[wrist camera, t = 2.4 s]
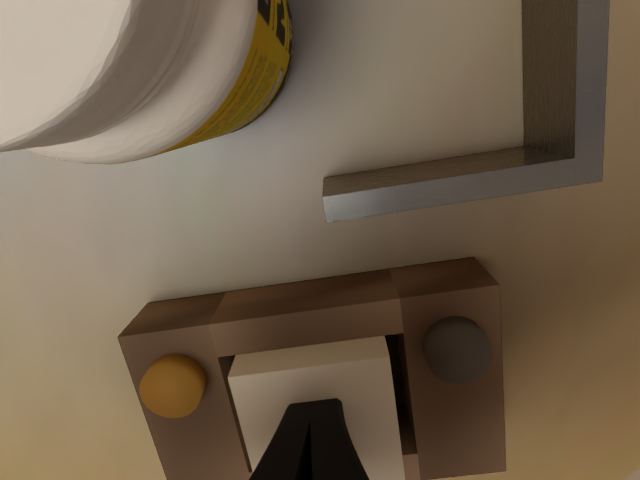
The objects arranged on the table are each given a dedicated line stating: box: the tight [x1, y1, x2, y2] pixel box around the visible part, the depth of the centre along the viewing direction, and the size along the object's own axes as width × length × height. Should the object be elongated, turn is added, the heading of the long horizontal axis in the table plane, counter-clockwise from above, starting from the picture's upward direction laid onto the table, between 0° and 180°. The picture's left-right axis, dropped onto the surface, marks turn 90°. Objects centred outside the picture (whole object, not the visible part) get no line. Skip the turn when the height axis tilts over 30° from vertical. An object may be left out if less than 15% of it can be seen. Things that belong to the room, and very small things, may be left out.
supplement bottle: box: [0, 0, 294, 164], centre depth 7 cm, size 5×5×8 cm
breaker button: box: [228, 335, 405, 480], centre depth 12 cm, size 4×4×2 cm
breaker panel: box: [118, 257, 506, 480], centre depth 13 cm, size 10×6×3 cm, turn 99°
